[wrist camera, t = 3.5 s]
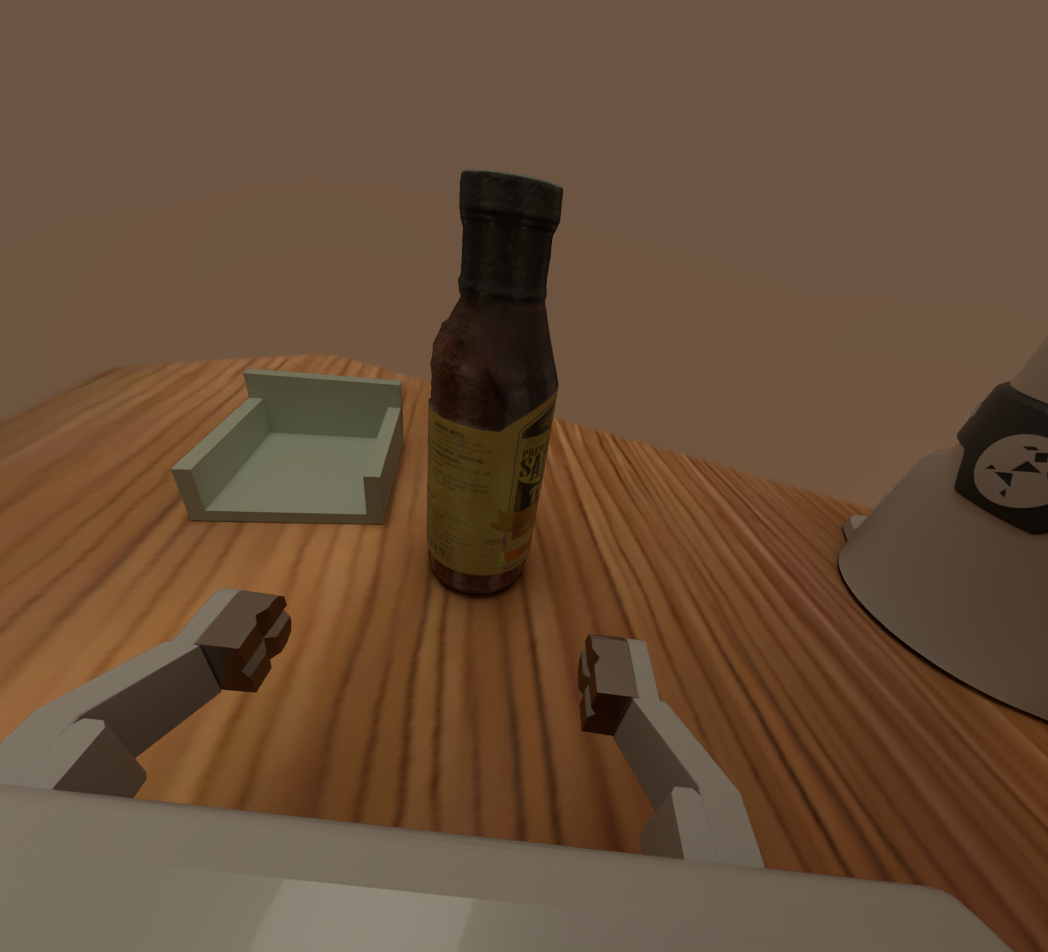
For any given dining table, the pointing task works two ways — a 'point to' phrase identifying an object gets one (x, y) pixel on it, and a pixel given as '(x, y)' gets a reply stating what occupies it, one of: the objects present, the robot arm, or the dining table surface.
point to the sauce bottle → (492, 385)
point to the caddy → (299, 452)
